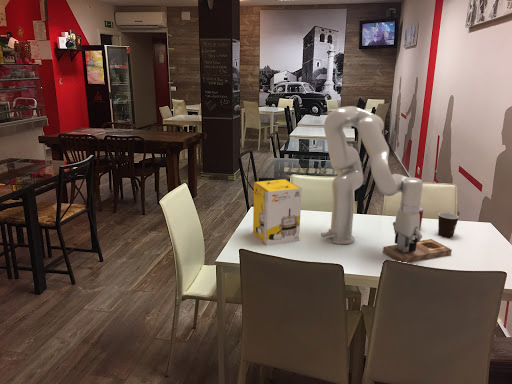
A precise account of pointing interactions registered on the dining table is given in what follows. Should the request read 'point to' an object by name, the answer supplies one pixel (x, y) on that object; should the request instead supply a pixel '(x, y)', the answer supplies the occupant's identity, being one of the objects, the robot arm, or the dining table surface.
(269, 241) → the packaging box
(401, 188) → the robot arm
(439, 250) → the socket board
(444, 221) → the coffee mug
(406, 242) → the metal block
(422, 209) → the canned food
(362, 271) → the dining table surface
